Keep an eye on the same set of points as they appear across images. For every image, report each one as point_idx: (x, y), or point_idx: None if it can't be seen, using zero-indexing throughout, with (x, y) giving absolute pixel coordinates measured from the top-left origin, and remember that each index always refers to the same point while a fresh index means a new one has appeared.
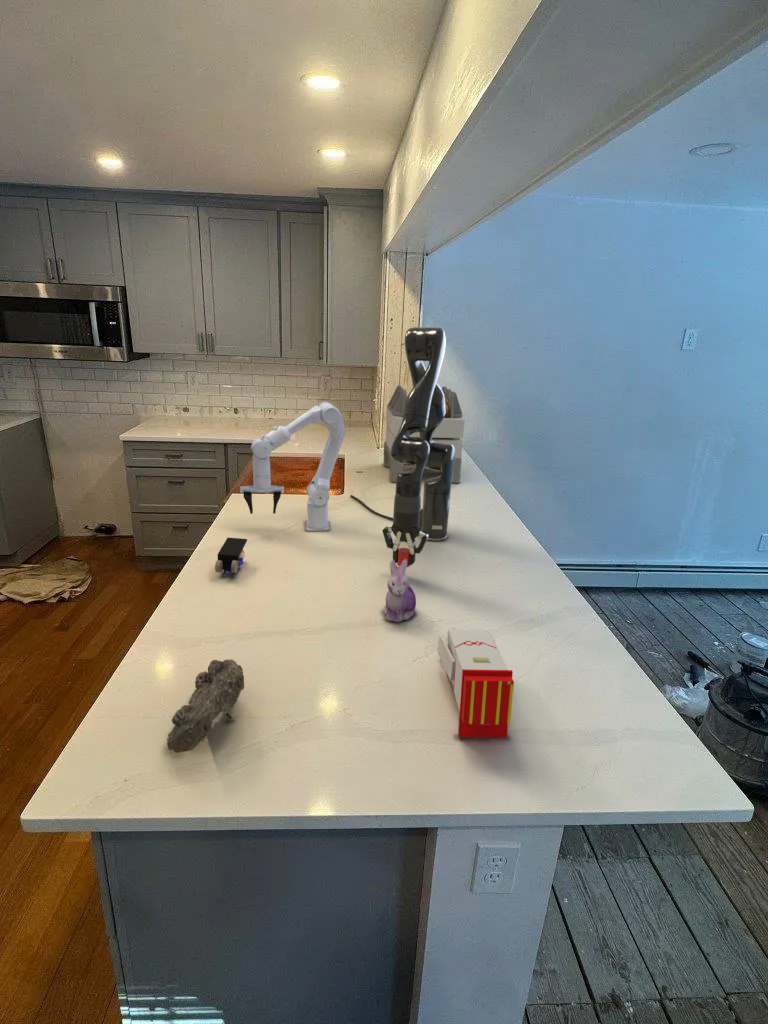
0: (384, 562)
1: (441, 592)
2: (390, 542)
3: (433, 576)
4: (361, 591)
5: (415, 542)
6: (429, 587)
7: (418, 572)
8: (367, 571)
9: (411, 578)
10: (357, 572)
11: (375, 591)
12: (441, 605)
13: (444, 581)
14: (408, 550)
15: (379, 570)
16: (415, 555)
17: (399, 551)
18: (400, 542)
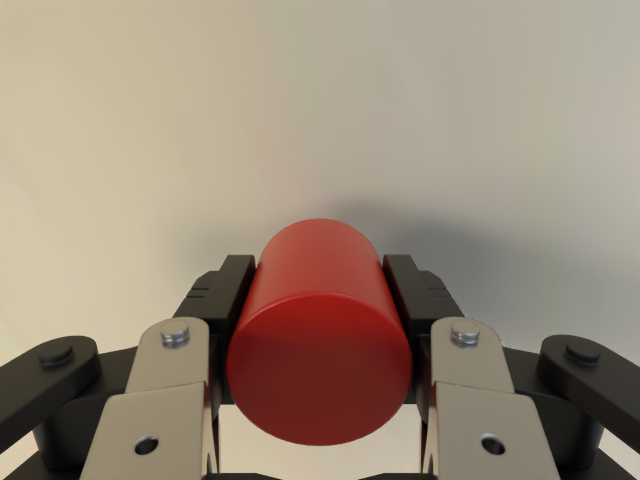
0: (71, 19)
1: (606, 325)
2: (43, 426)
3: (541, 117)
4: None
5: (527, 409)
6: (525, 294)
7: (410, 95)
8: (52, 243)
9: (381, 220)
10: (5, 283)
11: (232, 444)
12: (605, 448)
13: (630, 168)
14: (375, 363)
15: (117, 192)
16: (461, 314)
17: (269, 430)
18: (208, 396)
